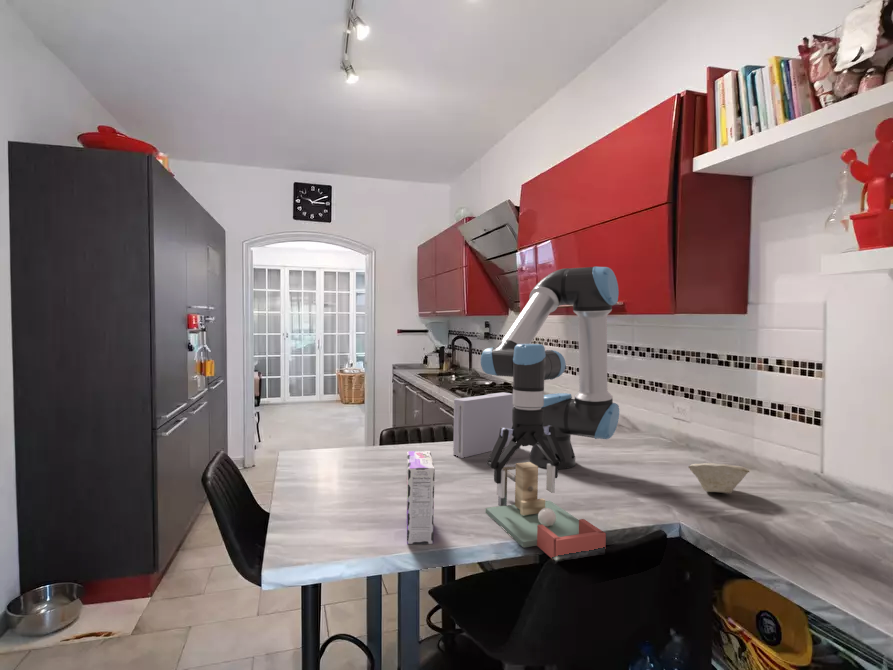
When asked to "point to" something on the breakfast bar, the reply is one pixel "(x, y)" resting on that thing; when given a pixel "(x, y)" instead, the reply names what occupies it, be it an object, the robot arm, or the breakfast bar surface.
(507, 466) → the metal rectangular frame
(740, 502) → the breakfast bar surface
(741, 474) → the bowl
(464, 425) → the game console
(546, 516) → the ball
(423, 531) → the candy box
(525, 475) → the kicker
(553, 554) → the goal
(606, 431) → the robot arm
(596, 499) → the breakfast bar surface
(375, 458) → the breakfast bar surface
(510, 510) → the pitch board
